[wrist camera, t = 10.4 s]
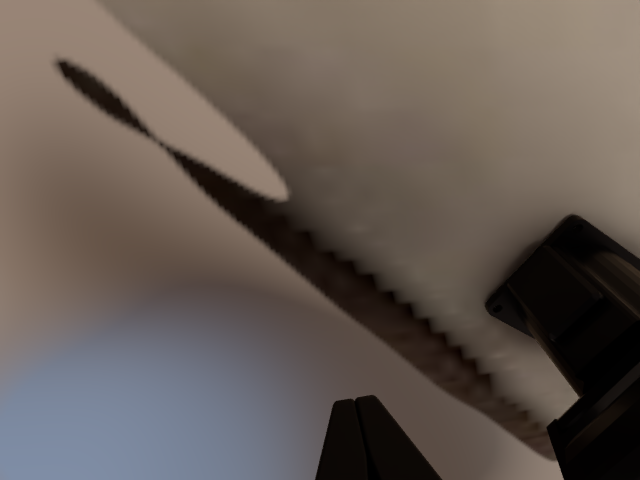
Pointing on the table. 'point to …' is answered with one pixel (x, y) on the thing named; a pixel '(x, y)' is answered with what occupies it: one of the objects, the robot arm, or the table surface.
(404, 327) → the table surface
